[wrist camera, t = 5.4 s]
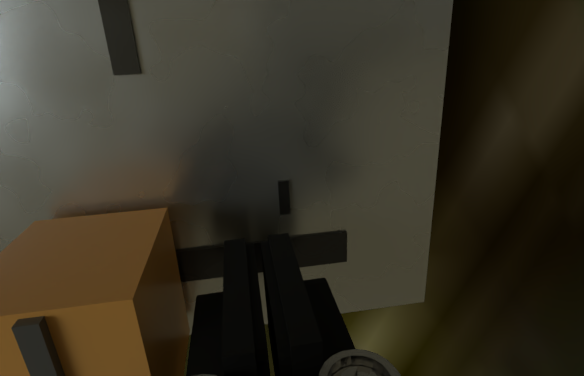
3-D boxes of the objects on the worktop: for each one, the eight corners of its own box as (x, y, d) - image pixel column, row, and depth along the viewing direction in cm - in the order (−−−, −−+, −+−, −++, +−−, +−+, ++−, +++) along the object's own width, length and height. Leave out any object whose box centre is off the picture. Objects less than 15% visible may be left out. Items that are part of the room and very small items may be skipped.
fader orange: (167, 207, 10) (129, 306, 6) (190, 330, 11) (170, 470, 8) (34, 221, 9) (-91, 335, 6) (75, 346, 11) (-4, 502, 7)
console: (418, -151, 10) (475, -209, 8) (394, 261, 15) (425, 303, 13) (-682, -162, 8) (-1107, -257, 5) (-287, 348, 12) (-413, 422, 10)
